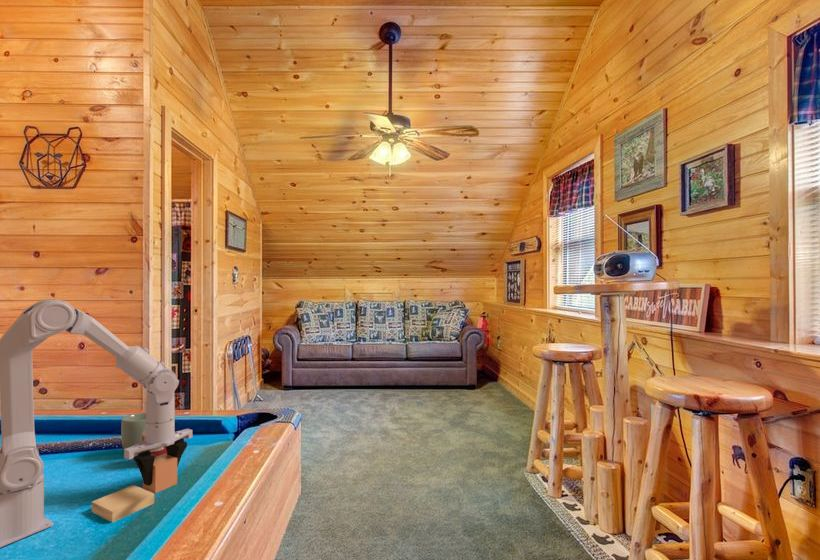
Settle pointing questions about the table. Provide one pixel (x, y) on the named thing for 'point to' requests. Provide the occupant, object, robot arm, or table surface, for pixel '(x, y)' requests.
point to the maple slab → (122, 503)
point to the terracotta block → (163, 473)
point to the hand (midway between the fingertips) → (160, 478)
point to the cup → (132, 429)
